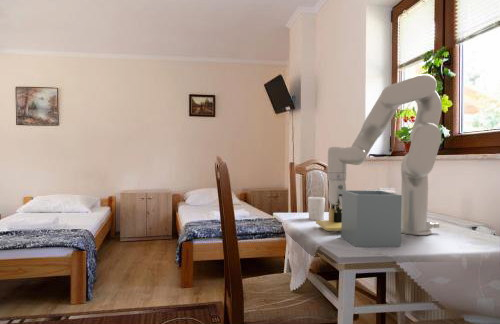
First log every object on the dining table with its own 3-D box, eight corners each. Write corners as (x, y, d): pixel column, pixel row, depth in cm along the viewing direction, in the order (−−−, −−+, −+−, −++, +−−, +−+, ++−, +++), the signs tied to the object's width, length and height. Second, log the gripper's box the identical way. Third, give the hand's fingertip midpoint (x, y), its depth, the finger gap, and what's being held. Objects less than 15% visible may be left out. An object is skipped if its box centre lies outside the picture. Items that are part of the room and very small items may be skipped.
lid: (353, 222, 158) (353, 208, 158) (368, 230, 142) (368, 214, 142) (315, 222, 157) (315, 208, 157) (326, 230, 141) (326, 214, 141)
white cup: (304, 218, 178) (305, 196, 178) (319, 217, 180) (320, 196, 180) (312, 221, 170) (312, 198, 170) (327, 220, 173) (328, 198, 172)
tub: (381, 236, 139) (381, 190, 139) (400, 246, 124) (401, 195, 124) (341, 236, 138) (342, 190, 137) (356, 247, 123) (357, 194, 123)
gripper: (352, 178, 147) (352, 225, 147) (339, 175, 164) (338, 217, 164) (334, 178, 146) (333, 225, 147) (322, 175, 163) (321, 217, 164)
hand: (336, 220), depth 156 cm, fingers closed on lid, 4 cm apart
